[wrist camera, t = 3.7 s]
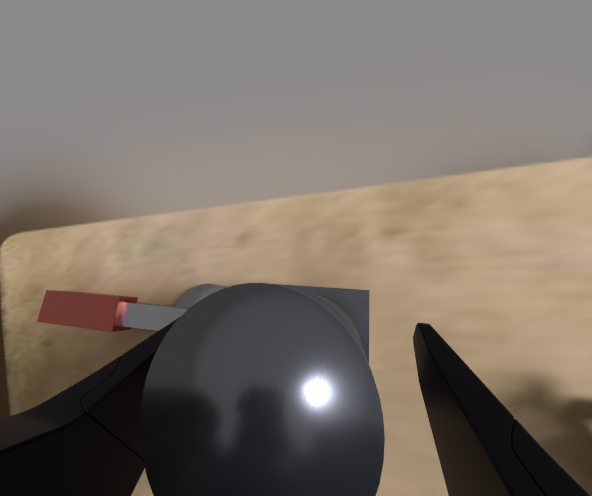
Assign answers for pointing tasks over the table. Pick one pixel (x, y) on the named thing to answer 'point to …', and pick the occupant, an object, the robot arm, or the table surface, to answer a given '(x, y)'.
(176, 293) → the table surface
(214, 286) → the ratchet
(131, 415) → the robot arm
